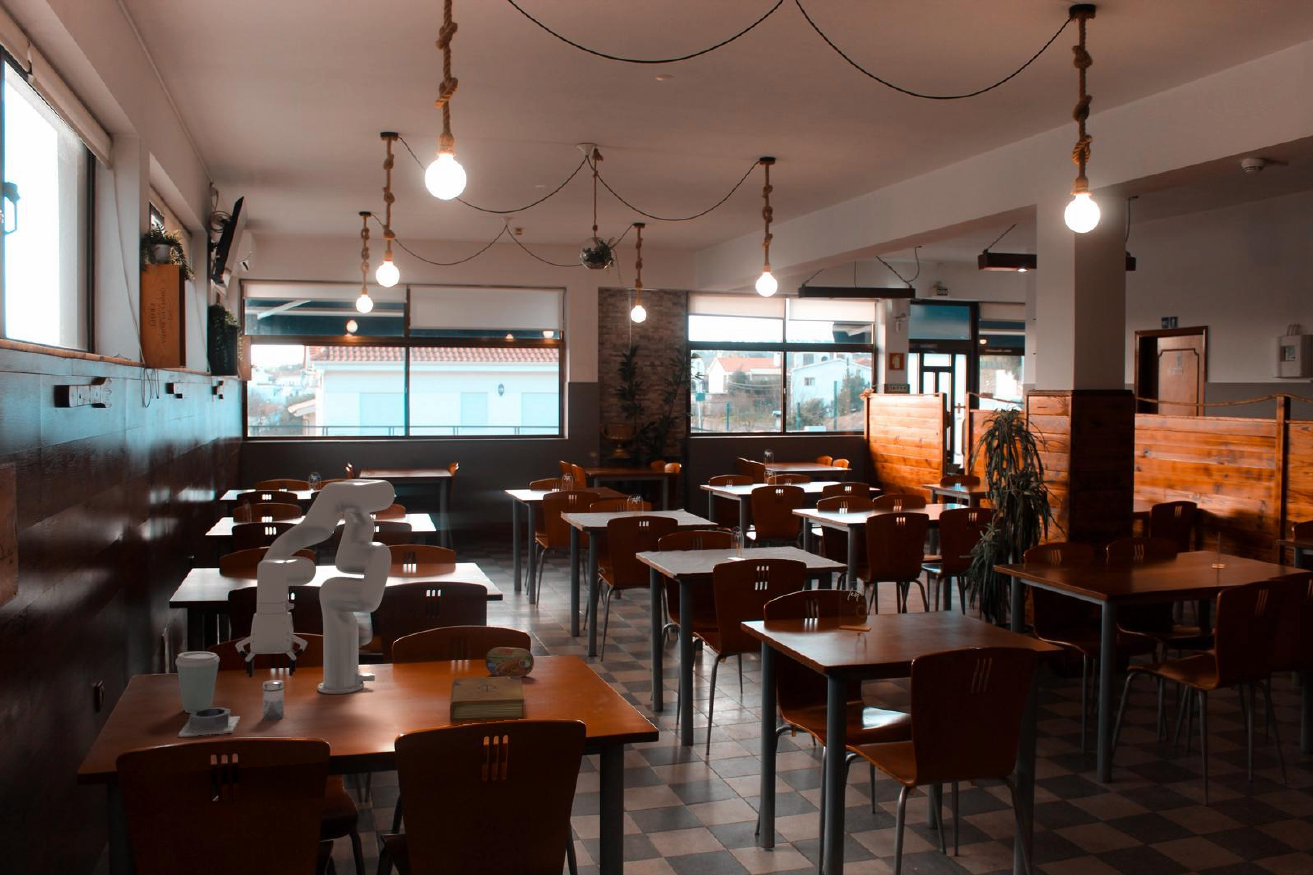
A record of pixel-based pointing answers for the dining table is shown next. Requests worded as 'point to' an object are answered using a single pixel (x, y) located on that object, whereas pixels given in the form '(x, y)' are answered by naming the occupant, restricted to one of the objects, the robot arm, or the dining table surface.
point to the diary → (486, 698)
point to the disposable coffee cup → (197, 679)
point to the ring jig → (209, 722)
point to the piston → (273, 700)
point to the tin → (509, 661)
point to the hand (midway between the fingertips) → (271, 675)
